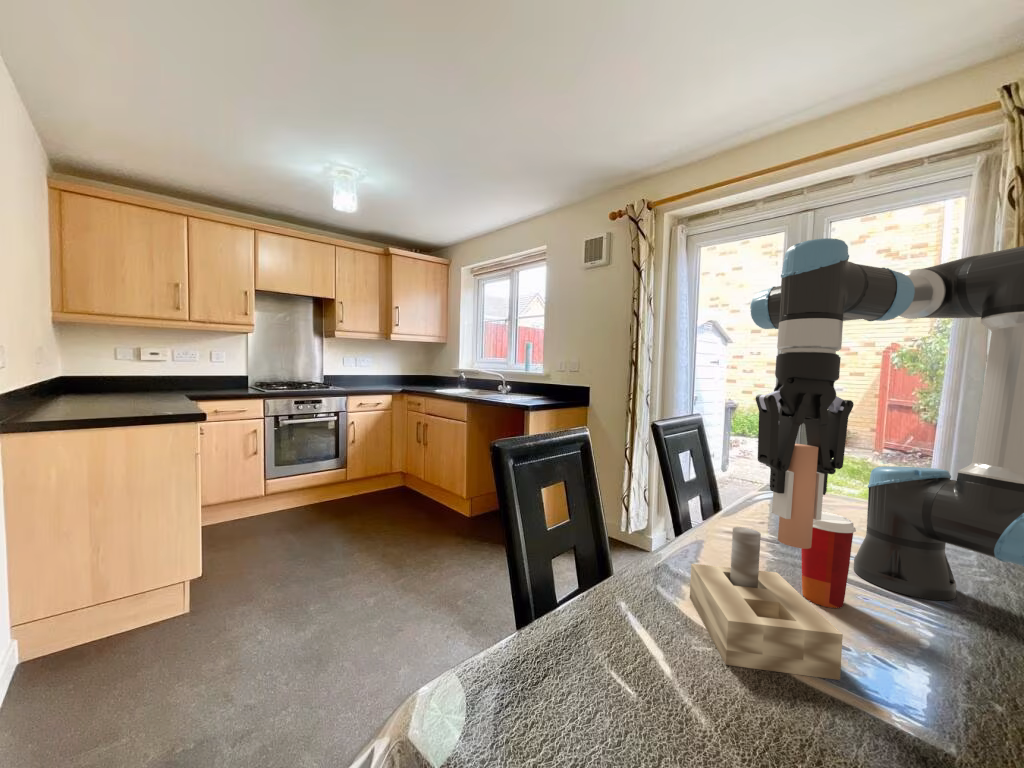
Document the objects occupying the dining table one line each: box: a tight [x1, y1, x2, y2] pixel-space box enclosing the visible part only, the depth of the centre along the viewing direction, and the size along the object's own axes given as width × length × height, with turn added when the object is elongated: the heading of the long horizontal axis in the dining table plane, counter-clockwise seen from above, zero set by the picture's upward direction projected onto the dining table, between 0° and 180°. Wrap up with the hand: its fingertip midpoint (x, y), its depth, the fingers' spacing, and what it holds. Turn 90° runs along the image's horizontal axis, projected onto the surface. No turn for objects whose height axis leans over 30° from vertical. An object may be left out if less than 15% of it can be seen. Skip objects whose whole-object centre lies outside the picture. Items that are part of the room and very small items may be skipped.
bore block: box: [689, 526, 843, 681], centre depth 65 cm, size 14×18×14 cm
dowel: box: [777, 443, 818, 549], centre depth 61 cm, size 4×4×14 cm
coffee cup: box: [800, 511, 857, 609], centre depth 76 cm, size 8×8×15 cm
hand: (796, 515), depth 61 cm, fingers closed on dowel, 4 cm apart
